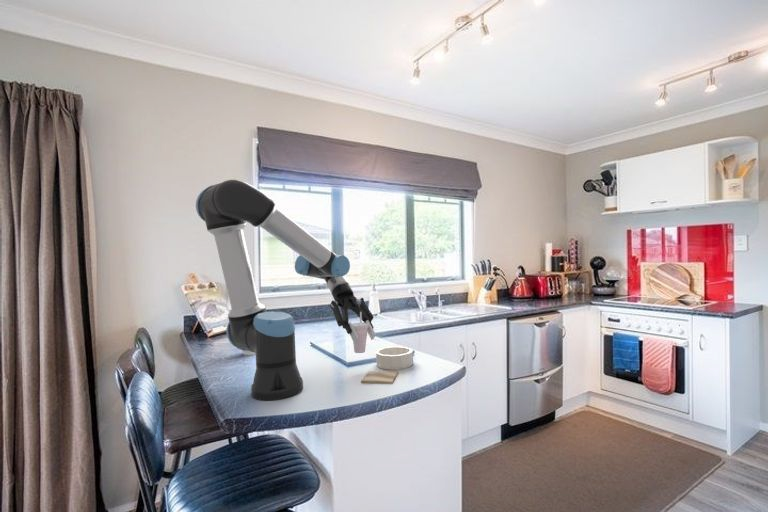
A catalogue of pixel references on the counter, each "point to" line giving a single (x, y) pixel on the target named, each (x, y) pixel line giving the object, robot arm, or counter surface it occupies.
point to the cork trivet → (380, 377)
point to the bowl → (394, 358)
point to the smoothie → (360, 335)
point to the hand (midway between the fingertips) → (365, 338)
